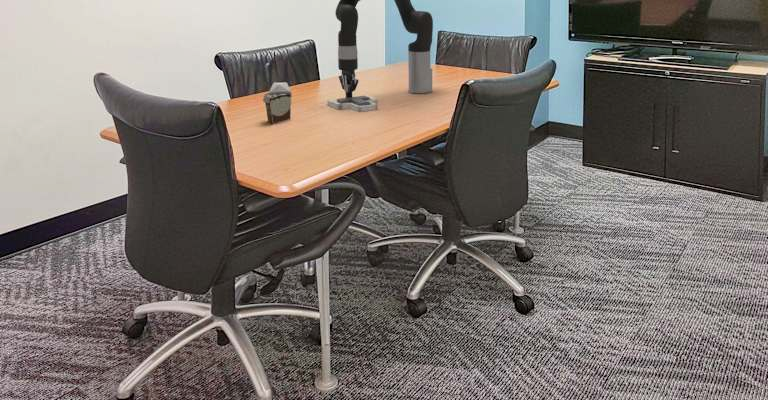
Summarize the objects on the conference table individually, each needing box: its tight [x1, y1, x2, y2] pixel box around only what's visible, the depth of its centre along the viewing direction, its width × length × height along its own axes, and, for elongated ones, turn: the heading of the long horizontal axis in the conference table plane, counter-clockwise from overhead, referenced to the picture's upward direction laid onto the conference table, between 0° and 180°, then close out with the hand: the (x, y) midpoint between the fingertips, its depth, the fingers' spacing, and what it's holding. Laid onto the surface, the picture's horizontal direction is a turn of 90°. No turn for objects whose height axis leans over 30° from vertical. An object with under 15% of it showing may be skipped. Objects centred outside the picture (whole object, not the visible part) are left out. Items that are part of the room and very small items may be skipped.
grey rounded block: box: [268, 82, 293, 96], centre depth 303 cm, size 8×9×10 cm
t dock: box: [327, 94, 379, 113], centre depth 294 cm, size 17×18×2 cm
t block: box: [336, 95, 370, 106], centre depth 293 cm, size 12×12×3 cm
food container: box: [262, 91, 293, 125], centre depth 272 cm, size 12×6×10 cm, turn 145°
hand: (349, 101), depth 300 cm, fingers closed
